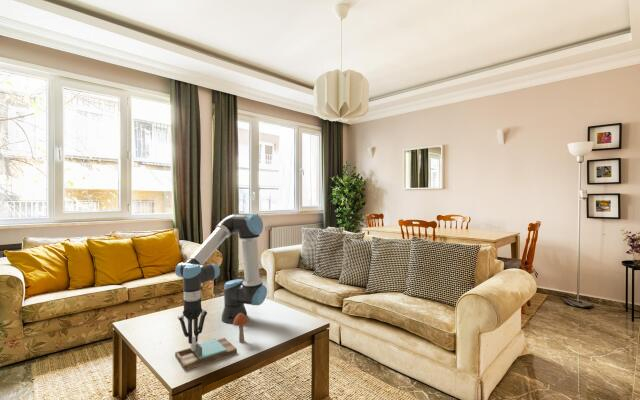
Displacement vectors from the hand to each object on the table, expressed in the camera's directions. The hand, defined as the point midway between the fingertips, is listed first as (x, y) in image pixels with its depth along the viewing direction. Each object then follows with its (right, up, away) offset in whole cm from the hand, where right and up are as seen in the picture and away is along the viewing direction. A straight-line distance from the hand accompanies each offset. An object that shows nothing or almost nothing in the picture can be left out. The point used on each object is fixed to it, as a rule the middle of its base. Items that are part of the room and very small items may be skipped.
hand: (193, 349), depth 150 cm
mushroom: (+18, -4, +18) cm, 26 cm away
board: (+6, -4, +4) cm, 8 cm away
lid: (+6, -2, +4) cm, 7 cm away
